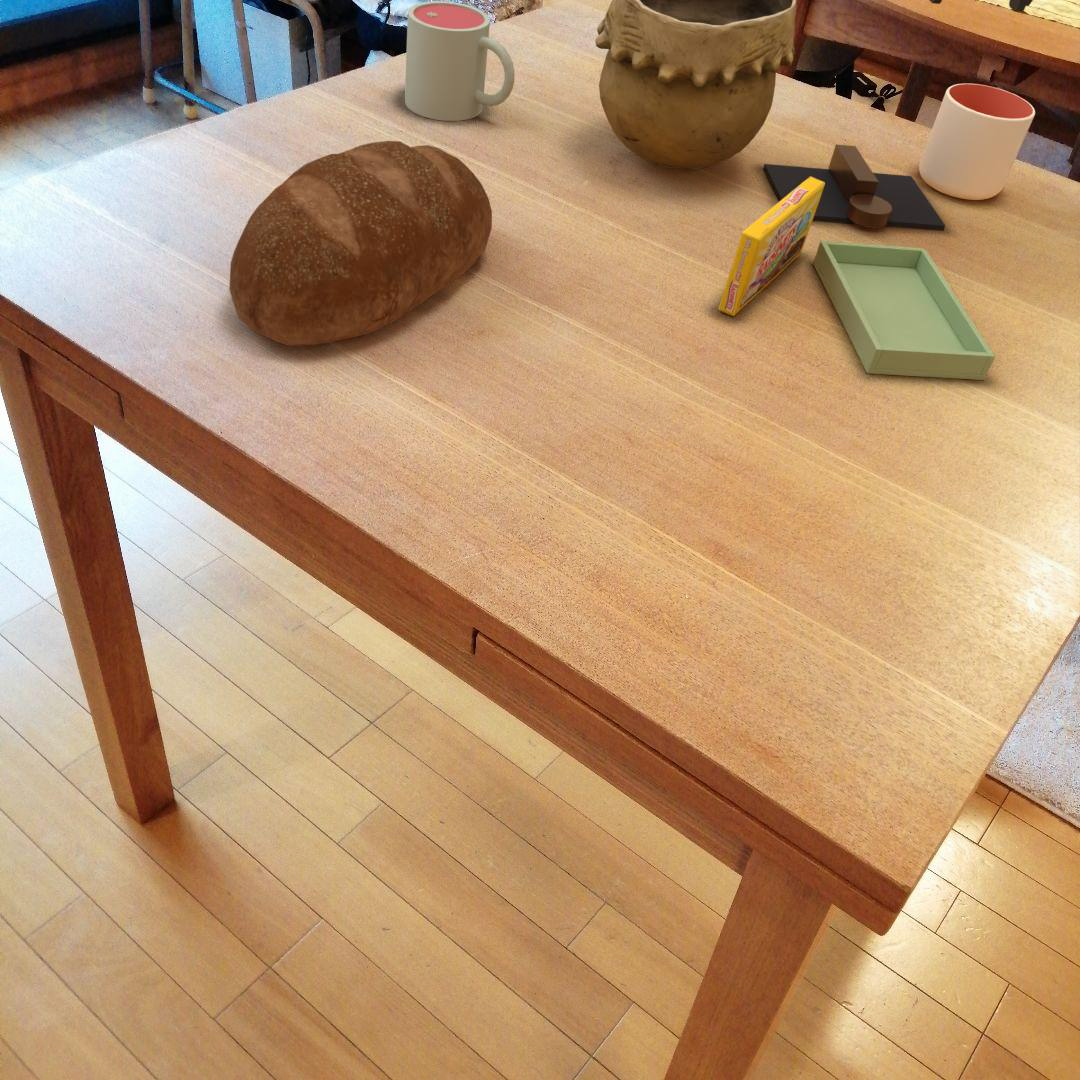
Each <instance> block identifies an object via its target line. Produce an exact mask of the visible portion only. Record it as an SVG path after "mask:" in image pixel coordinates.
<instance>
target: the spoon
mask: <svg viewBox="0 0 1080 1080" xmlns="http://www.w3.org/2000/svg"><path fill="white" fill-rule="evenodd" d="M827 169H828V170H829V171H830V173H831V175H832V177H833V178H834V180H835V182H836V183H837V185H838V187H839V188H840V190H841V192H842V194H843V195H844V197H845V199H846V200H847V202H848V206H847V209H846V216H847V217H848V218H849V219H850V220H851V221H853V222H854V223H856V224H855V225H859V226H862V227H867V228H873V229H875V228H883V227H886V226H885V225H886V224H887V222H888V219H889V216H890V214H891V211H892V207H891V205H890V204H889V203H888V202H887V201H885V200H883V199H881V198H879V197H876V196H874V194H875V191H876V188H877V186H878V183H879V182H878V180H877V178H876V177H875V175H874V174H873V173H874V172H873V171H872V169H871V168H870V167H869V165H868V163H867V162H866V160H865V158H864V157H863V156H862V154H861V153H860V151H859V149H858V147H857V146H856V145H846V144H835V146H834V148H833V152H832V156H831V159H830V162H829V165H828V168H827ZM854 223H853V224H854Z"/></svg>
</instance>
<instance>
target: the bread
mask: <svg viewBox="0 0 1080 1080" xmlns="http://www.w3.org/2000/svg"><path fill="white" fill-rule="evenodd" d="M492 228H493V209H492V206H491V201H490V197H489V196H488V194H487V193H486V190H485V188H484V186H483V184H482V182H481V181H480V180H479V179H478V177H477V176H476V175H475V173H474V172H473V171H472V170H471V169H470V168H469V167H468V166H467V165H466V163H464V162H463V161H462V160H461V159H460V158H459V157H456V156H454V155H452V154H451V153H448V152H446V151H444V150H443V149H441V148H439V147H436V146H433V145H430V144H429V145H428V144H427V145H424V144H423V145H416V146H409V145H408V144H407V143H405V142H402V141H400V140H399V141H398V140H383V141H375V142H369V143H365V144H361V145H358V146H356V147H352V148H350V149H348V150H345V151H342V152H339V153H331V154H327V155H325V156H322V157H319V158H317V159H314V160H312V161H310V162H307V163H305V164H304V165H302V166H300V167H299V168H298V169H297V170H296V171H294V172H293V173H292V174H291V175H290V176H289V177H288V178H287V179H285V181H284V182H282V183H281V184H280V185H278V186H277V187H275V188H274V189H273V190H272V191H271V192H270V194H268V196H267V197H265V198H264V199H263V200H262V202H261V203H260V204H258V206H257V207H256V208H255V209H254V211H253V212H252V214H251V215H250V217H249V219H248V220H247V222H246V225H245V226H244V228H243V231H242V233H241V235H240V237H239V239H238V241H237V244H236V246H235V249H234V250H233V253H232V257H231V260H230V267H229V268H230V269H229V289H228V290H229V293H230V296H231V299H232V302H233V305H234V308H235V312H236V315H237V317H238V319H239V320H240V321H241V322H243V324H245V325H246V326H248V327H249V328H251V330H253V331H255V332H256V333H258V334H260V335H262V336H264V337H266V338H268V339H270V340H272V341H274V342H277V343H279V344H282V345H285V346H288V347H302V346H312V345H321V344H327V343H332V342H337V341H343V340H347V339H351V338H355V337H359V336H364V335H366V334H371V333H373V332H375V331H377V330H379V329H381V328H384V327H386V326H388V325H389V324H391V323H393V322H395V321H396V320H398V319H399V318H401V317H402V316H404V315H406V313H408V312H410V311H411V310H413V309H415V308H416V307H417V306H419V305H420V304H422V303H423V302H424V301H426V300H428V299H429V298H430V297H432V296H433V295H435V294H436V293H437V292H439V291H441V290H442V289H443V288H445V287H447V286H448V285H450V284H451V283H452V282H454V281H455V280H457V279H458V278H460V277H461V276H462V275H463V274H465V273H467V271H468V270H470V269H471V268H472V266H473V265H474V264H475V262H476V261H477V260H479V258H480V256H481V255H482V254H483V252H485V250H486V248H487V244H488V243H489V238H490V236H491V232H492Z"/></svg>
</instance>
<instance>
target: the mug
mask: <svg viewBox="0 0 1080 1080" xmlns="http://www.w3.org/2000/svg"><path fill="white" fill-rule="evenodd" d="M406 24H407V26H406V27H407V28H406V53H405V54H406V55H405V56H406V58H405V85H404V86H405V87H404V104H405V106H406V108H407V109H408V110H410V111H411V112H413V113H414V114H416V115H418V116H421V117H424V118H427V119H431V120H435V121H444V122H460V121H466V120H470V119H473V118H476V117H478V116H479V115H480V114H481V113H482V112H483V109H484V106H488V107H494V106H495V107H496V106H499V105H501V104H503V103H505V101H506V100H507V99H508V98H509V97H510V96H511V93H512V92H513V89H514V84H515V67H514V63H513V60H512V58H511V54H510V53H509V52H508V50H507V49H506V47H505V46H504V45H503V44H502V43H501V42H499V41H498V40H496V39H495V38H493V37H490V25H491V19H490V16H489V15H488V14H487V13H486V12H485V11H483V10H482V9H479V8H477V7H474V6H472V5H469V4H465V3H460V2H455V1H447V0H446V1H445V0H431V1H423V2H419V3H416V4H413V5H412V6H410V7H409V8H408V10H407V23H406ZM488 51H492V53H494V54H495V55H496V56H497V57H498V59H499V60H500V63H501V65H502V67H503V72H504V81H503V84H502V87H501V89H500V90H499V91H498V92H497V93H495V94H486V93H485V86H486V73H487V63H488V61H487V60H488Z"/></svg>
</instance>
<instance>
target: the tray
mask: <svg viewBox="0 0 1080 1080" xmlns="http://www.w3.org/2000/svg"><path fill="white" fill-rule="evenodd" d="M812 264H813V266H814V268H815V270H816V272H817V274H818V276H819V278H820V280H821V282H822V285H823V287H824V289H825V291H826V293H827V295H828V296H829V298H830V301H831V303H832V305H833V307H834V309H835V311H836V313H837V316H838V317H839V320H840V321H841V324H842V325H843V327H844V329H845V331H846V333H847V336H848V337H849V339H850V341H851V343H852V345H853V347H854V349H855V352H856V353H857V356H858V358H859V359H860V361H861V364H862V365H863V368H864V370H865V373H866V374H869V375H872V374H873V375H891V376H907V377H925V378H926V377H927V378H941V379H942V378H943V379H960V380H975V381H977V380H978V381H984V380H985V379H986V377H987V375H988V372H989V371H990V368H991V366H992V364H993V363H994V360H995V359H996V355H995V354H994V352H993V351H992V349H991V347H990V346H989V344H988V343H987V341H986V340H985V338H984V337H983V335H982V334H981V331H980V330H979V329H978V327H977V326H976V324H975V323H974V321H973V319H972V318H971V316H970V315H969V314H968V312H967V310H966V309H965V307H964V306H963V304H962V302H961V301H960V300H959V298H958V297H957V295H956V294H955V292H954V291H953V289H952V287H951V286H950V284H949V282H948V281H947V279H946V278H945V276H944V275H943V273H942V272H941V270H940V269H939V267H938V266H937V264H936V263H935V261H934V259H933V258H932V256H931V255H930V253H929V251H928V250H927V249H926V248H924V247H914V246H913V247H912V246H911V247H910V246H898V245H886V244H885V245H883V244H871V243H860V242H859V243H857V242H844V241H831V240H820V241H819V244H818V247H817V251H816V253H815V257H814V259H813V262H812Z"/></svg>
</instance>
